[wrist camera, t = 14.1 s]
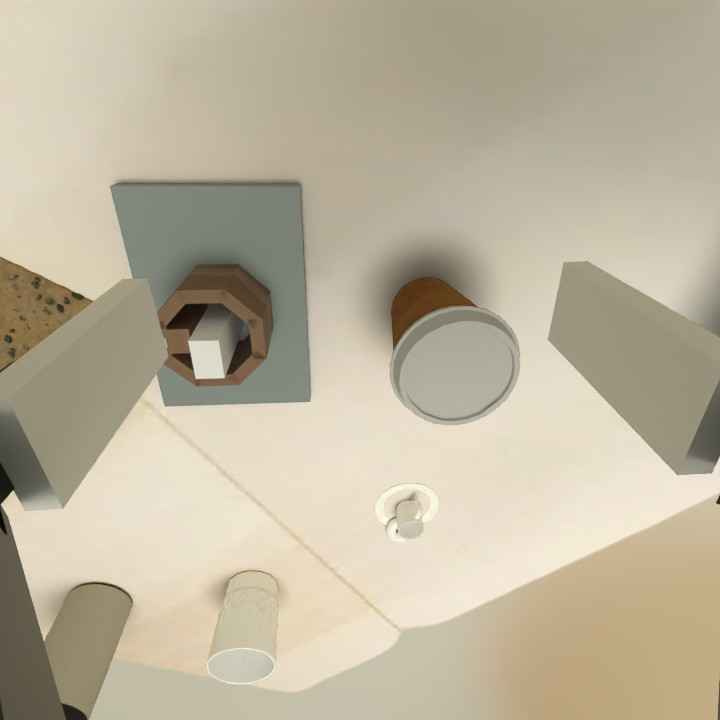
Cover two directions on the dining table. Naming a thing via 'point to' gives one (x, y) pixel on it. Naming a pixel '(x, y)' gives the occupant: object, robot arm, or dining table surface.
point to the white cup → (246, 630)
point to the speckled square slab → (31, 309)
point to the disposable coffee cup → (450, 354)
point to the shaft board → (224, 246)
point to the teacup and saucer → (406, 514)
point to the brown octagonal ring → (190, 305)
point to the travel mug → (85, 644)
